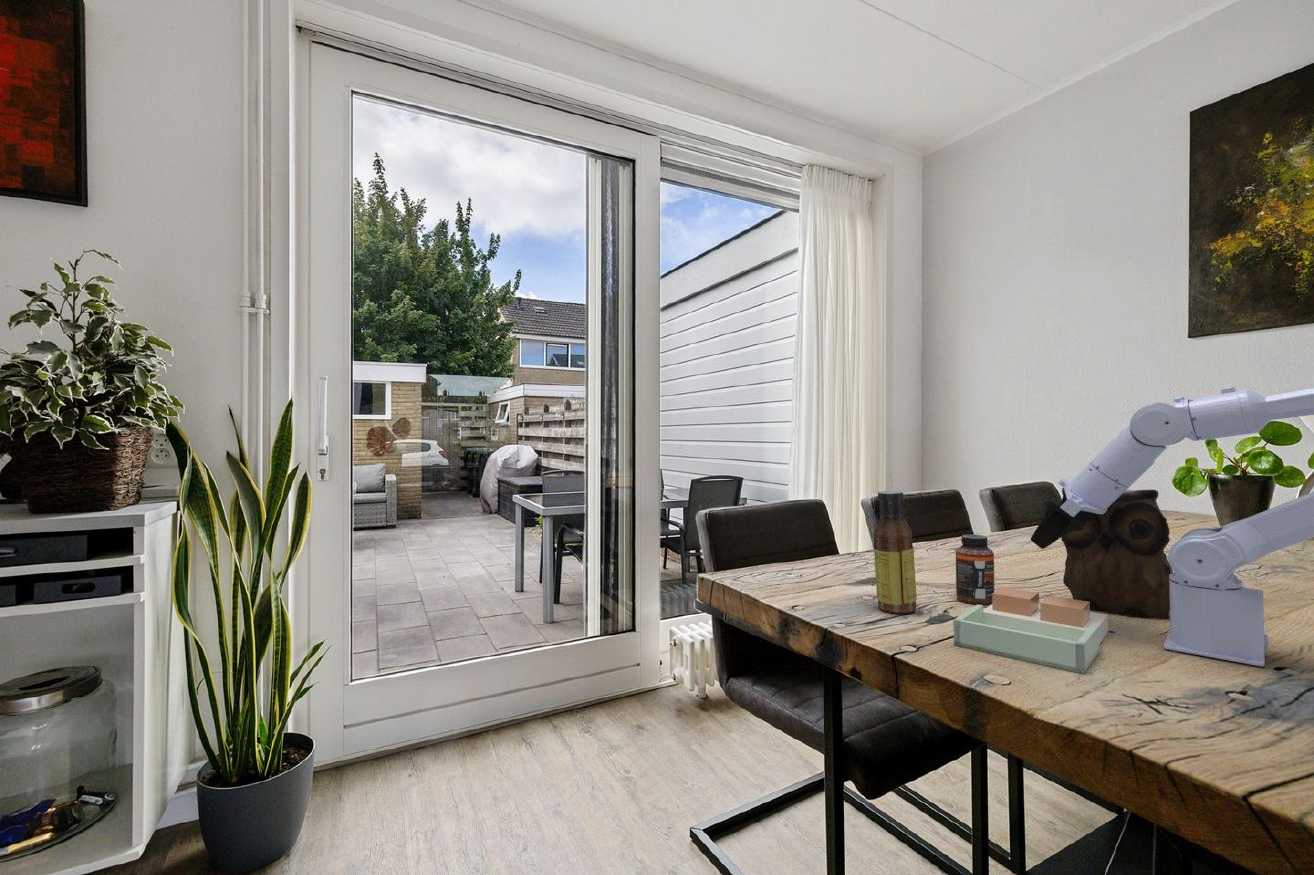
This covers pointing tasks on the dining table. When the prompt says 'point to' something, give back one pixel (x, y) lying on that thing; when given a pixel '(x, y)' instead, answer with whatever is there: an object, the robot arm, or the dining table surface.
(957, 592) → the supplement bottle
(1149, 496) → the owl
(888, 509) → the sauce bottle
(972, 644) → the tray
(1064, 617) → the tile
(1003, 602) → the tile
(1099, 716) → the dining table surface
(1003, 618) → the board
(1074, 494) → the robot arm
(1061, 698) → the dining table surface
